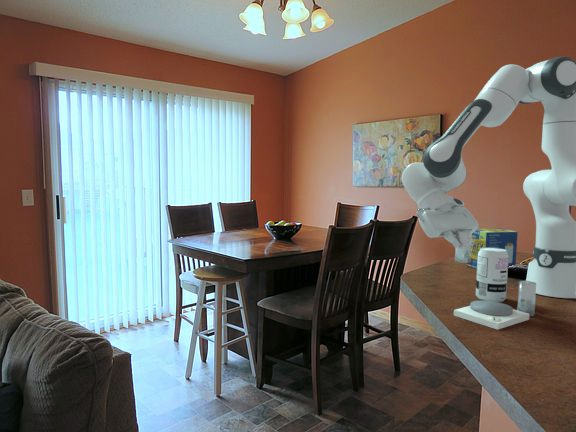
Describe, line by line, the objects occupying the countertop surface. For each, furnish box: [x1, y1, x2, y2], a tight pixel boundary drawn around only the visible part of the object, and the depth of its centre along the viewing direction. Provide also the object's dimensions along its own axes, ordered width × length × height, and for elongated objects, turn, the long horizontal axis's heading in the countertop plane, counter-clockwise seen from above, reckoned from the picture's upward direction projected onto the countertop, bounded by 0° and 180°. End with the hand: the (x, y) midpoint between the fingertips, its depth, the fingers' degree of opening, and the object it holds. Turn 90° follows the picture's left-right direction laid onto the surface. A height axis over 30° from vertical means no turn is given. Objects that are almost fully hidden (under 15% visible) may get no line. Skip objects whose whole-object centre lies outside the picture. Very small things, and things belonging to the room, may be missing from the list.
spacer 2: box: [516, 280, 537, 317], centre depth 111 cm, size 4×4×8 cm
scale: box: [453, 300, 530, 331], centre depth 108 cm, size 14×12×2 cm
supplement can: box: [475, 248, 509, 303], centre depth 124 cm, size 8×8×15 cm
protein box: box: [466, 227, 519, 270], centre depth 168 cm, size 10×15×16 cm
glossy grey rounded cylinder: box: [454, 230, 472, 264], centre depth 116 cm, size 4×4×8 cm
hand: (465, 245), depth 116 cm, fingers closed on glossy grey rounded cylinder, 4 cm apart
